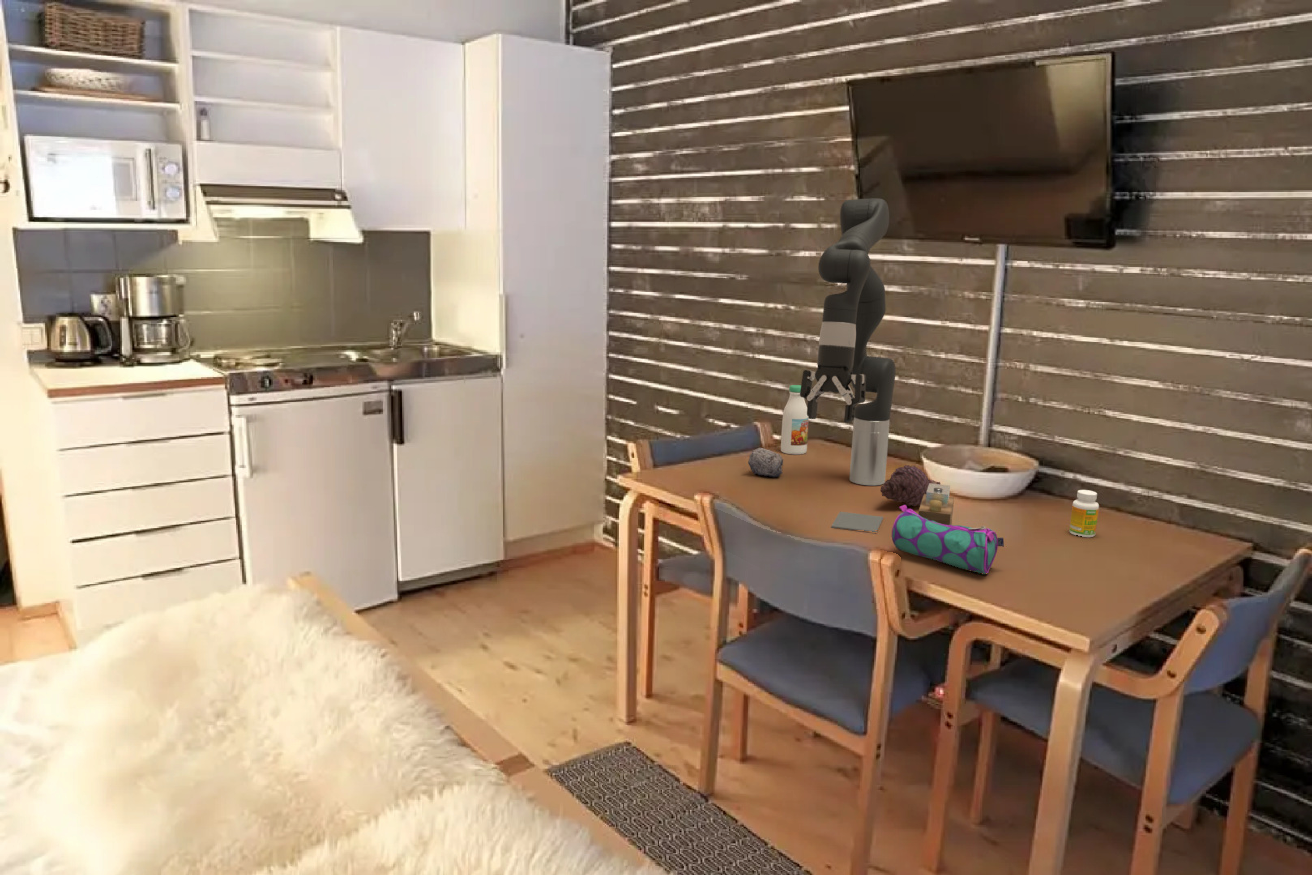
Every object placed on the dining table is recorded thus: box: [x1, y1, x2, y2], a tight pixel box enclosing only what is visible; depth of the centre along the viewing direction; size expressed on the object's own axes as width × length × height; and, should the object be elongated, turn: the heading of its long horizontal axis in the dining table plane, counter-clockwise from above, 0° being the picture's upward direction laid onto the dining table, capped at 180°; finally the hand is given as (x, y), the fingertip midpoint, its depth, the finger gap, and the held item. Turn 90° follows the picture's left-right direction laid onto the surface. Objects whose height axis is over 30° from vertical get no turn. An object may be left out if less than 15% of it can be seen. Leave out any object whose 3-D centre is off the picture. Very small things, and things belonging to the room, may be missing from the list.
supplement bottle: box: [1068, 489, 1100, 538], centre depth 212 cm, size 5×5×10 cm
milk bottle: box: [780, 384, 810, 455], centre depth 282 cm, size 8×8×20 cm
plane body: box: [917, 494, 955, 525], centre depth 208 cm, size 14×7×10 cm, turn 160°
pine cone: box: [880, 464, 941, 507], centre depth 231 cm, size 18×10×10 cm, turn 118°
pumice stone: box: [747, 447, 784, 478], centre depth 256 cm, size 10×8×10 cm
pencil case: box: [891, 504, 1005, 575], centre depth 192 cm, size 21×9×10 cm, turn 49°
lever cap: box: [925, 483, 951, 508], centre depth 208 cm, size 8×4×3 cm, turn 160°
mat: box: [830, 511, 884, 533], centre depth 217 cm, size 12×10×1 cm
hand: (829, 420), depth 203 cm, fingers open, 8 cm apart
